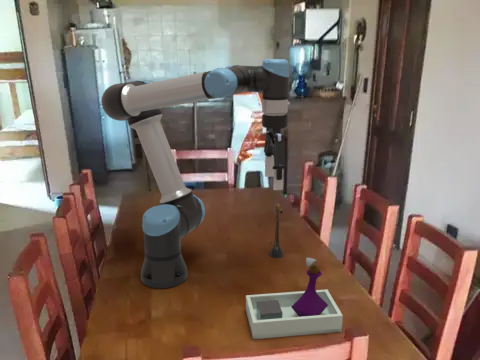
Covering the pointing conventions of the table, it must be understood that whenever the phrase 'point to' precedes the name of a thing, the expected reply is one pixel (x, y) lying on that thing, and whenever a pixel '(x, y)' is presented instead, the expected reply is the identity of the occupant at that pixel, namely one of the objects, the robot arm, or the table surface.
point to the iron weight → (268, 310)
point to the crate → (292, 316)
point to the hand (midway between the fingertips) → (273, 182)
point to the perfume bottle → (310, 294)
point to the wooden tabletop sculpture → (277, 234)
